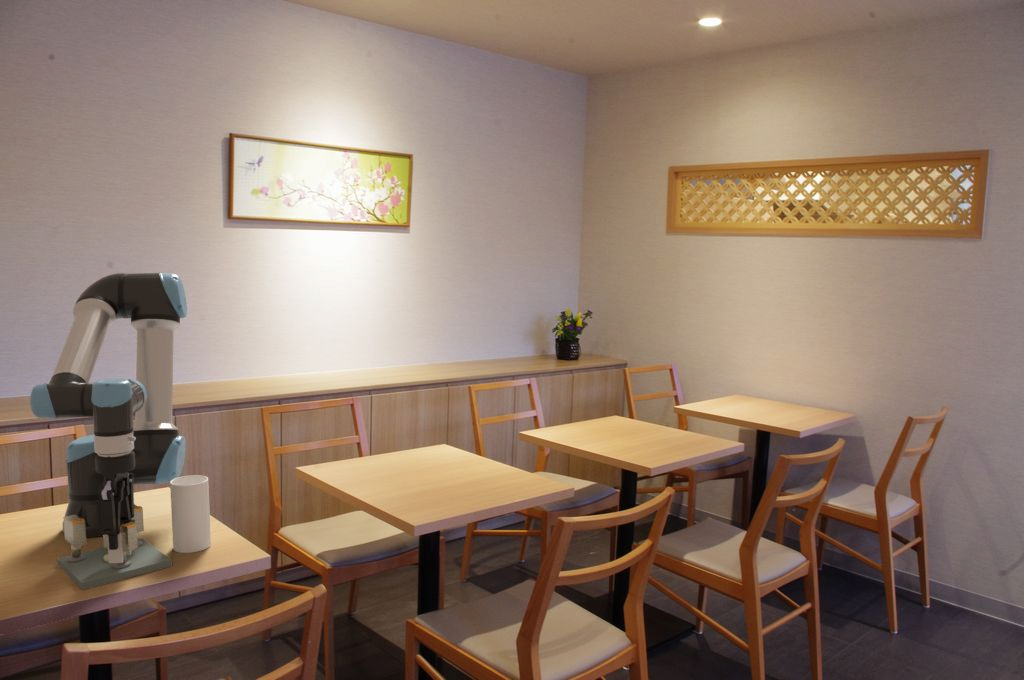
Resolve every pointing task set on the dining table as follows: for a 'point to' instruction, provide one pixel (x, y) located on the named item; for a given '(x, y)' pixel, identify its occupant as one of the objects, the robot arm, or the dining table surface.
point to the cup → (190, 513)
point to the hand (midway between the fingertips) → (120, 558)
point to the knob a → (75, 533)
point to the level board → (112, 565)
